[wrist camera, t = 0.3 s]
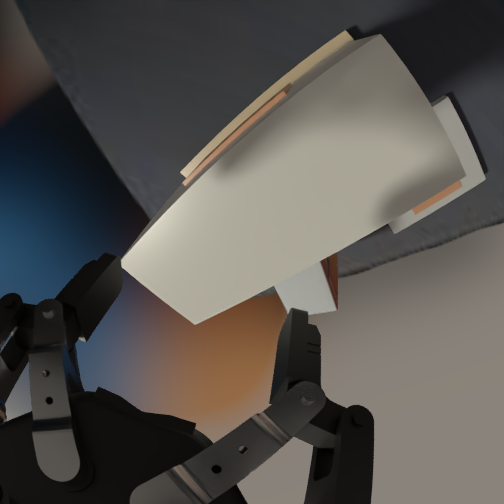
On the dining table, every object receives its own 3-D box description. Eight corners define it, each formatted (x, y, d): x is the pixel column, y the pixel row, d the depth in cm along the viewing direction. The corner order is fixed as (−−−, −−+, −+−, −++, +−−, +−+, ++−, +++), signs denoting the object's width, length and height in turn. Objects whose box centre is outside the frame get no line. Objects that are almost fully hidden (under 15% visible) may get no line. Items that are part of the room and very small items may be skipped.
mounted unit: (343, 31, 21) (382, 5, 8) (404, 109, 24) (486, 182, 11) (185, 167, 34) (104, 261, 21) (242, 221, 38) (197, 334, 24)
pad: (443, 94, 22) (448, 97, 21) (481, 175, 26) (486, 179, 25) (344, 159, 30) (345, 164, 29) (392, 228, 34) (394, 234, 33)
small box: (337, 249, 37) (338, 312, 30) (297, 257, 40) (289, 319, 32) (320, 197, 33) (319, 255, 25) (276, 208, 35) (261, 266, 28)
